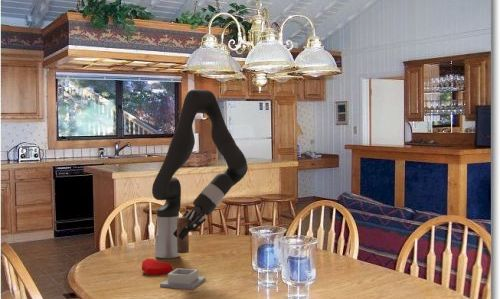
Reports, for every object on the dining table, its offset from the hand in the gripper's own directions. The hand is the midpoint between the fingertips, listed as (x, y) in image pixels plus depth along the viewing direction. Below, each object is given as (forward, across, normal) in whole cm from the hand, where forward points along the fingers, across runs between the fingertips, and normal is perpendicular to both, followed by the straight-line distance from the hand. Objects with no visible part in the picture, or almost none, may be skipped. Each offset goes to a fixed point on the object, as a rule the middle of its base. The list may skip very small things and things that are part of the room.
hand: (177, 236), depth 188 cm
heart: (+13, -18, +10) cm, 25 cm away
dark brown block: (+3, 0, +5) cm, 6 cm away
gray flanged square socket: (+10, 0, +13) cm, 17 cm away
